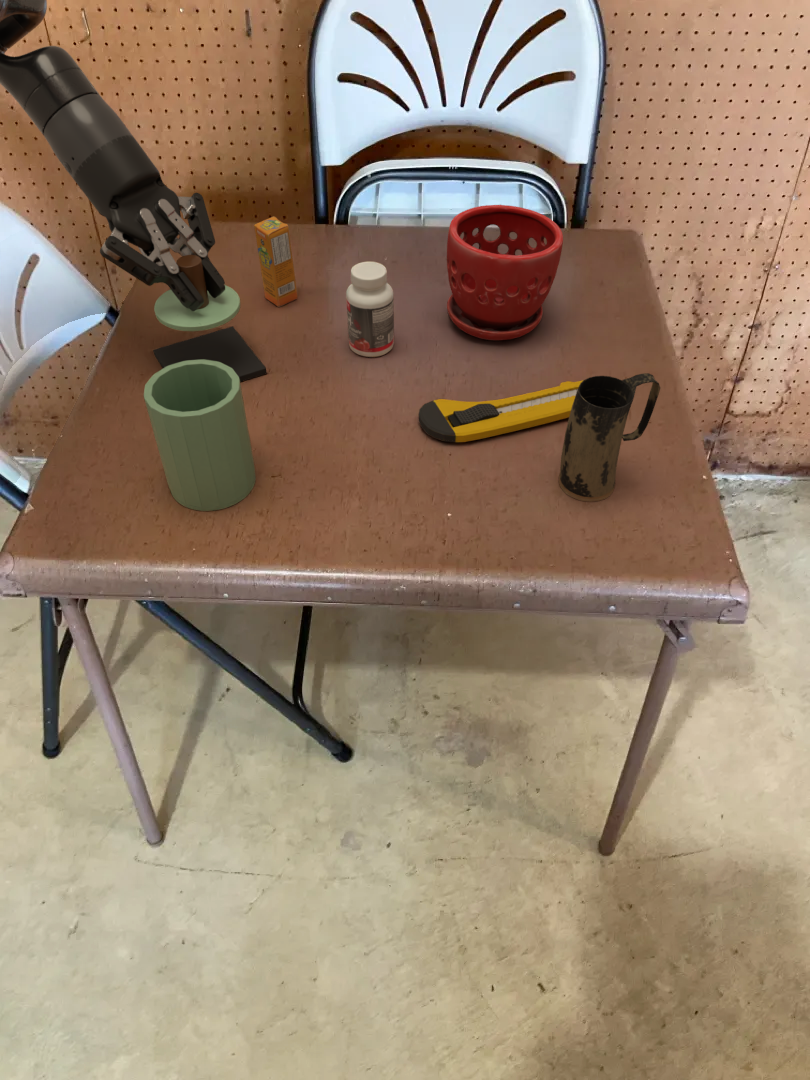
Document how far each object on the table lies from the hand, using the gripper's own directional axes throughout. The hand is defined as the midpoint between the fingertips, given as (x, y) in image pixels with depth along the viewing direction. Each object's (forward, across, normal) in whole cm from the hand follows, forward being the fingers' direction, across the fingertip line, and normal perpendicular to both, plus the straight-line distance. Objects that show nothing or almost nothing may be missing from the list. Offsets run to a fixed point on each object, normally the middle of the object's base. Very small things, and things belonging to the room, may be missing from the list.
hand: (209, 299), depth 90 cm
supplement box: (+3, +16, +10) cm, 19 cm away
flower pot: (+21, +27, -8) cm, 35 cm away
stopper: (0, 0, +3) cm, 3 cm away
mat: (+5, 0, +8) cm, 9 cm away
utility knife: (+29, +13, -16) cm, 35 cm away
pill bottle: (+14, +14, -1) cm, 20 cm away
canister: (+15, -14, -2) cm, 21 cm away
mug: (+37, +8, -24) cm, 45 cm away
